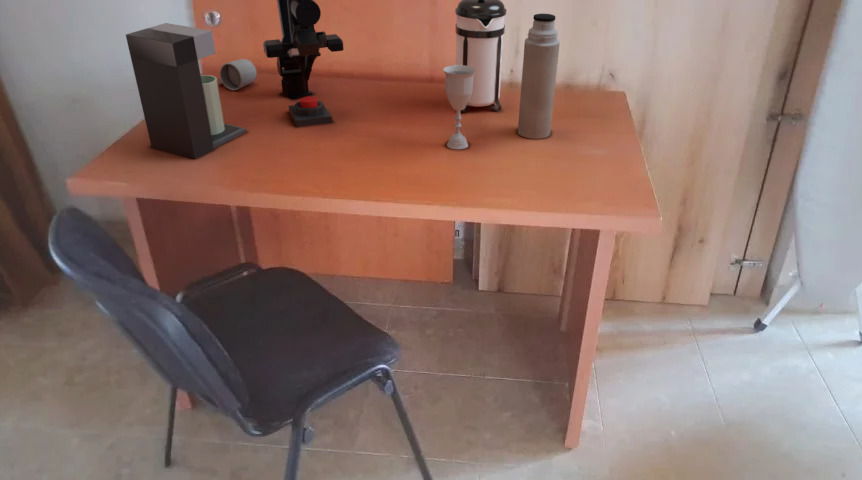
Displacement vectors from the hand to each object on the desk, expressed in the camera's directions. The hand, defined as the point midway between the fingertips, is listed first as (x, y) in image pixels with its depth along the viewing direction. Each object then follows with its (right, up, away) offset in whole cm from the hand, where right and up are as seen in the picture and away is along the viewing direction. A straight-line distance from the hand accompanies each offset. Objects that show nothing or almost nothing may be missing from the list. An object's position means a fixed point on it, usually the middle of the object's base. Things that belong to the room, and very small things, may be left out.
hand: (306, 80), depth 175 cm
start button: (0, -6, +4) cm, 7 cm away
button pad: (0, -8, +5) cm, 10 cm away
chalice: (+38, -18, -9) cm, 43 cm away
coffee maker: (-24, -16, -7) cm, 30 cm away
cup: (-23, -14, -5) cm, 27 cm away
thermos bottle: (+57, -14, -3) cm, 58 cm away
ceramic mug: (-25, +5, +26) cm, 36 cm away
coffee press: (+43, -3, +14) cm, 46 cm away
